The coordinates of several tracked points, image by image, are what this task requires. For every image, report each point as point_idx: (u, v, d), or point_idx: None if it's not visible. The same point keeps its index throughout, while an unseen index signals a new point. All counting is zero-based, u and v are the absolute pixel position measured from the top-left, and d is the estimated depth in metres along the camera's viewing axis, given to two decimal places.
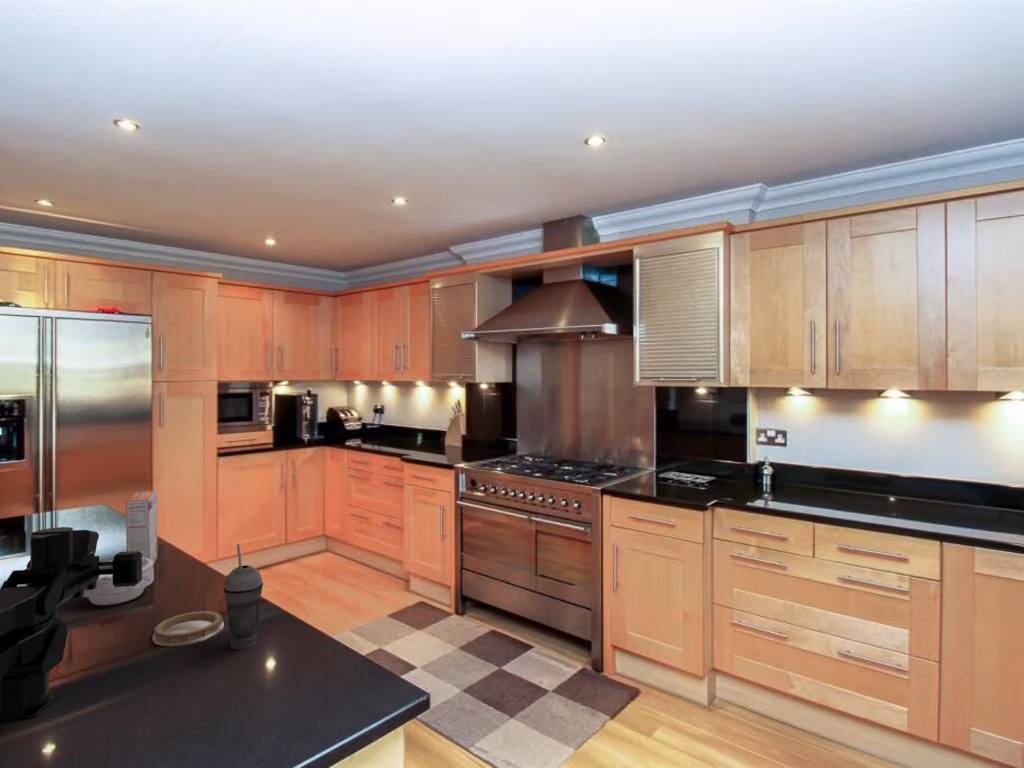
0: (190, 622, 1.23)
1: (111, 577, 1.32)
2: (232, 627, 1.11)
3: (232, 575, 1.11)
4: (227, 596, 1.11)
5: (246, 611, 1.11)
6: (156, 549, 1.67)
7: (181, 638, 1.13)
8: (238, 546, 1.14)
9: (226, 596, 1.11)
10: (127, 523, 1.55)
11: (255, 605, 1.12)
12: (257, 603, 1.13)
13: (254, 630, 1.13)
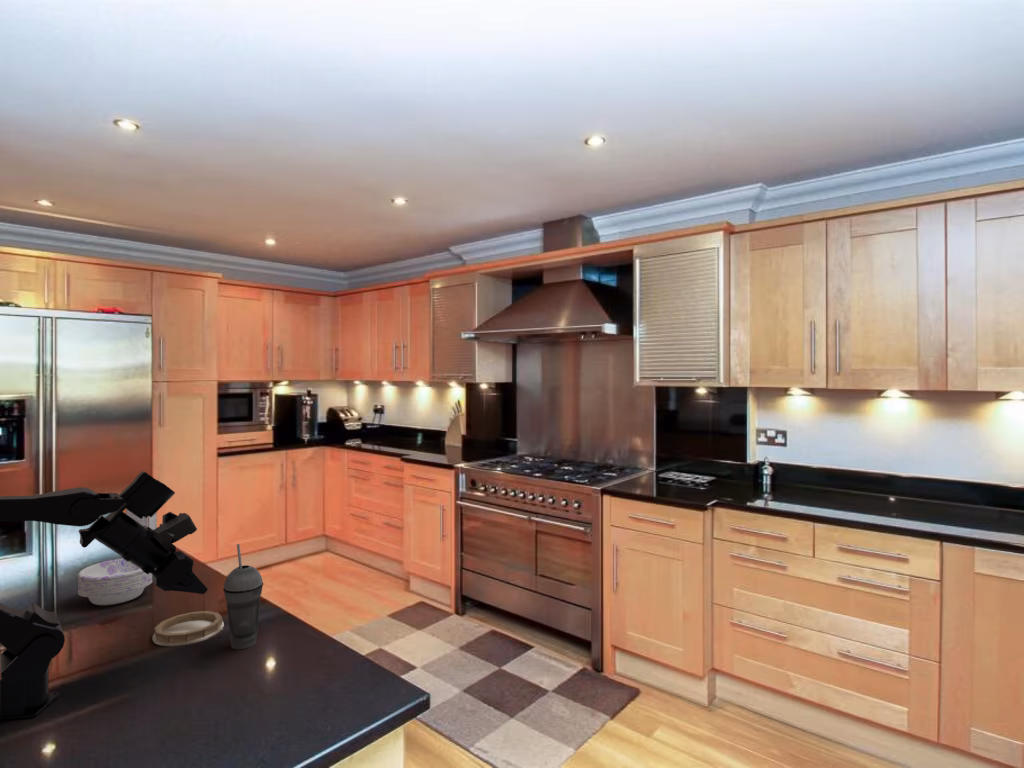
0: (190, 622, 1.23)
1: (111, 577, 1.32)
2: (232, 627, 1.11)
3: (232, 575, 1.11)
4: (227, 596, 1.11)
5: (246, 611, 1.11)
6: None
7: (181, 638, 1.13)
8: (238, 546, 1.14)
9: (226, 596, 1.11)
10: None
11: (255, 605, 1.12)
12: (257, 603, 1.13)
13: (254, 630, 1.13)
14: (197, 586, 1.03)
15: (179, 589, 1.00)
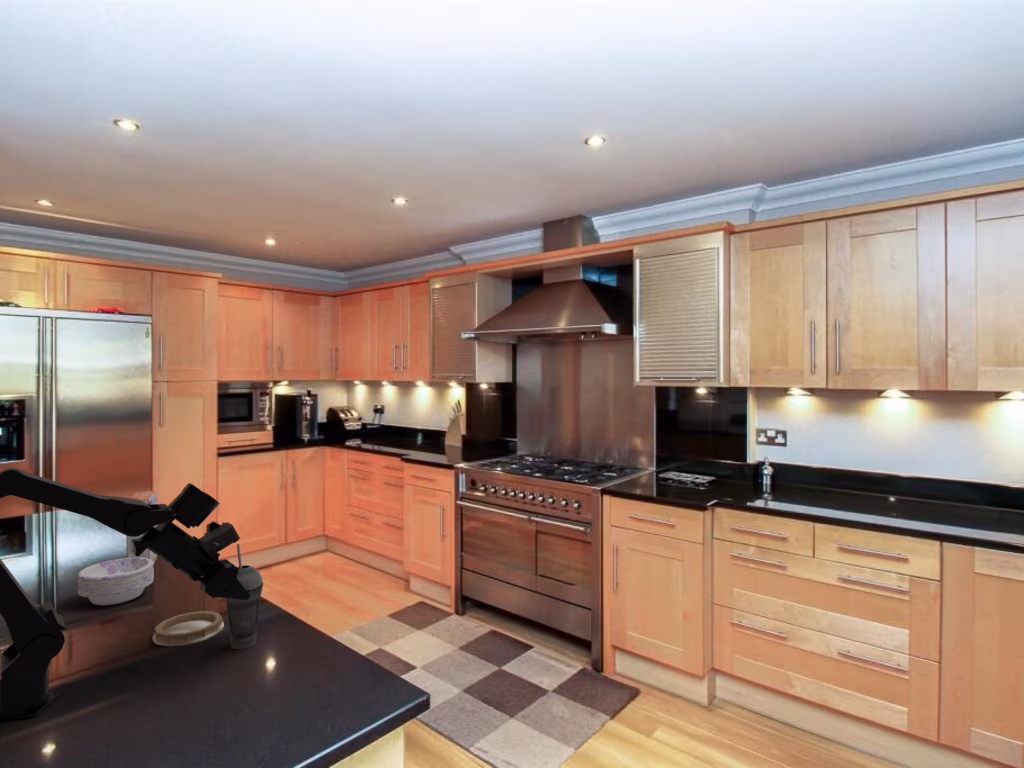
0: (190, 622, 1.23)
1: (111, 577, 1.32)
2: (232, 627, 1.11)
3: None
4: None
5: (246, 611, 1.11)
6: None
7: (181, 638, 1.13)
8: (238, 546, 1.14)
9: None
10: None
11: (255, 605, 1.12)
12: (257, 603, 1.13)
13: (254, 630, 1.13)
14: (241, 593, 1.08)
15: (225, 596, 1.05)
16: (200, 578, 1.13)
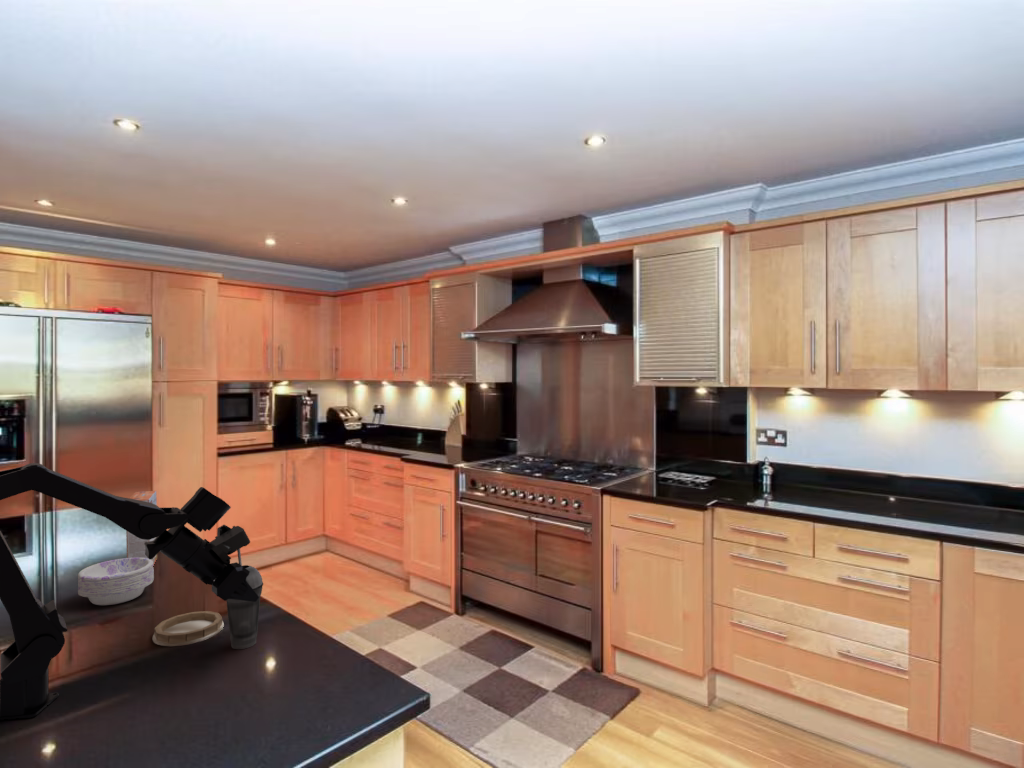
0: (190, 622, 1.23)
1: (111, 577, 1.32)
2: (232, 627, 1.11)
3: None
4: None
5: (246, 611, 1.11)
6: None
7: (181, 638, 1.13)
8: None
9: None
10: None
11: (255, 604, 1.12)
12: (257, 603, 1.13)
13: (254, 630, 1.13)
14: (250, 594, 1.10)
15: (234, 597, 1.07)
16: (212, 582, 1.13)
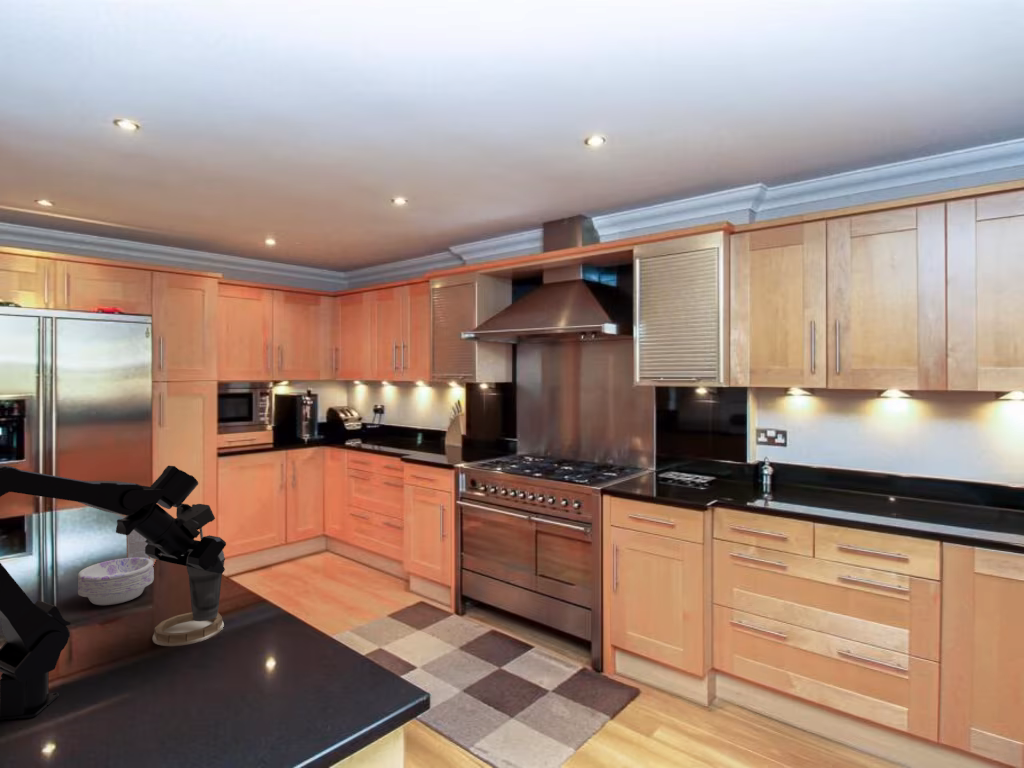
0: (190, 622, 1.23)
1: (111, 577, 1.32)
2: (197, 600, 1.15)
3: None
4: (193, 570, 1.15)
5: (212, 583, 1.16)
6: None
7: (181, 638, 1.13)
8: None
9: (191, 571, 1.15)
10: None
11: (219, 577, 1.18)
12: (221, 576, 1.19)
13: (218, 602, 1.18)
14: (218, 566, 1.16)
15: (207, 569, 1.13)
16: (171, 560, 1.16)
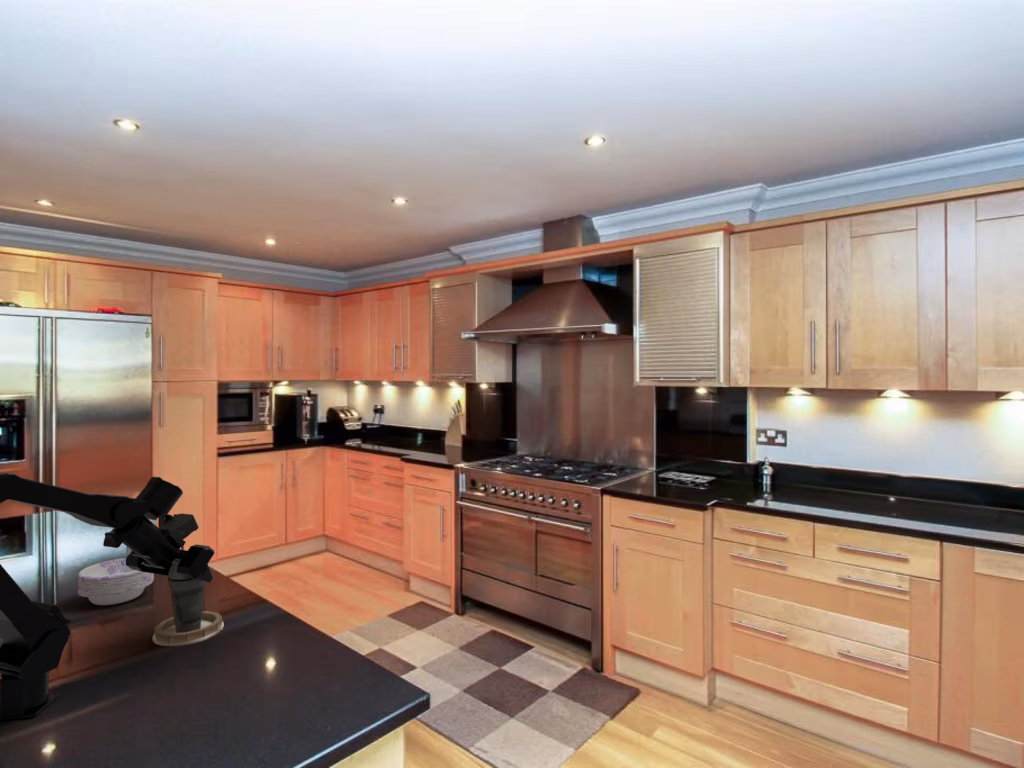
0: None
1: (111, 577, 1.32)
2: (181, 614, 1.16)
3: None
4: (176, 585, 1.16)
5: (196, 596, 1.18)
6: None
7: (181, 638, 1.13)
8: None
9: (175, 585, 1.16)
10: None
11: (202, 590, 1.19)
12: (203, 588, 1.20)
13: (201, 614, 1.19)
14: (207, 575, 1.17)
15: (197, 578, 1.14)
16: (150, 570, 1.16)
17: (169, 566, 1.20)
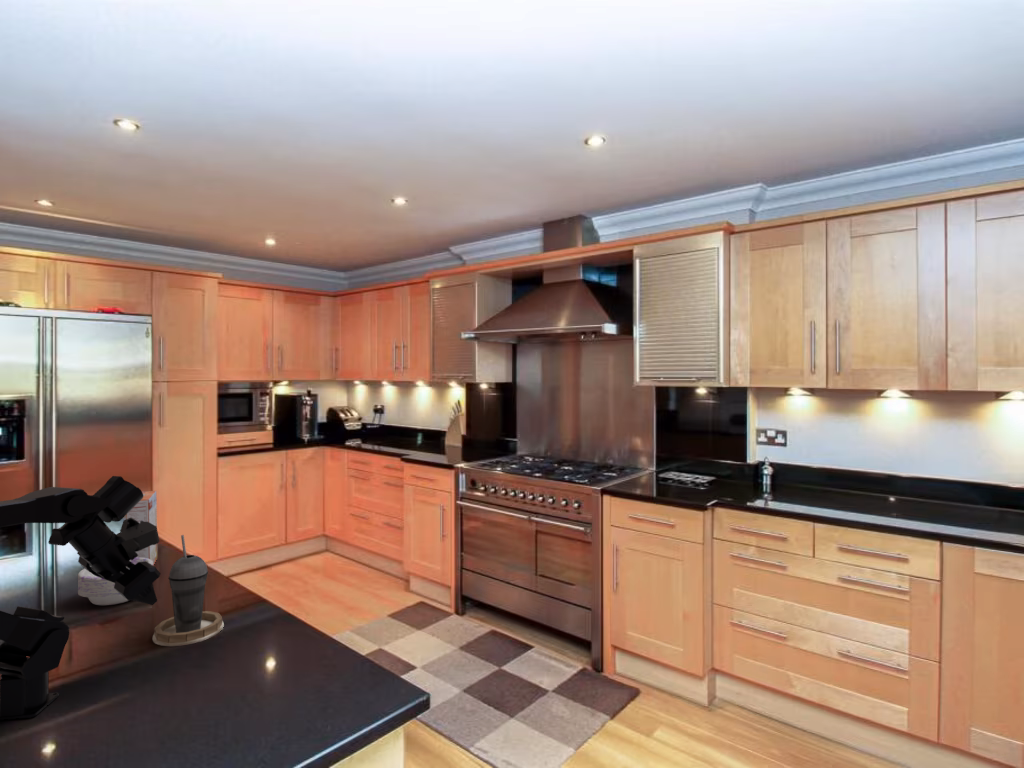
0: None
1: None
2: (181, 614, 1.16)
3: (181, 564, 1.17)
4: (177, 584, 1.16)
5: (197, 596, 1.18)
6: (156, 549, 1.67)
7: (181, 638, 1.13)
8: (183, 537, 1.19)
9: (175, 585, 1.16)
10: None
11: (203, 590, 1.19)
12: (204, 588, 1.20)
13: (201, 614, 1.19)
14: (150, 597, 1.06)
15: (136, 598, 1.03)
16: None
17: (122, 574, 1.11)
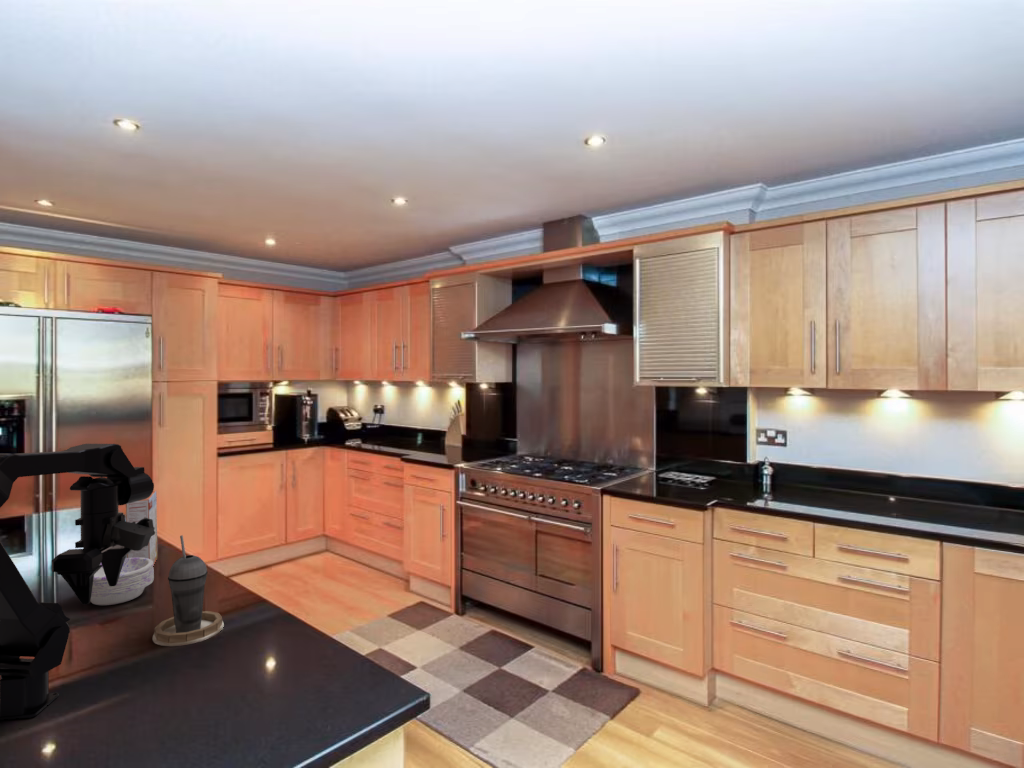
0: None
1: None
2: (181, 614, 1.16)
3: (180, 564, 1.17)
4: (177, 585, 1.16)
5: (196, 596, 1.18)
6: (156, 549, 1.67)
7: (181, 638, 1.13)
8: (182, 537, 1.18)
9: (175, 585, 1.16)
10: None
11: (203, 590, 1.19)
12: (203, 588, 1.20)
13: (201, 614, 1.19)
14: (83, 593, 1.00)
15: (68, 581, 0.99)
16: None
17: (114, 568, 1.10)
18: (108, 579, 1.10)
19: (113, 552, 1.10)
